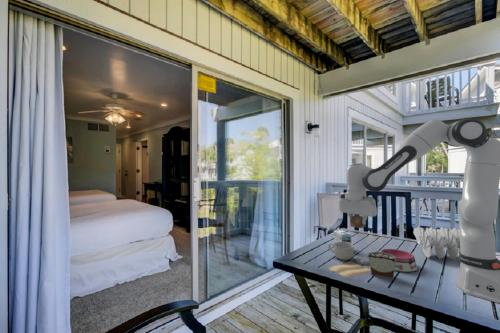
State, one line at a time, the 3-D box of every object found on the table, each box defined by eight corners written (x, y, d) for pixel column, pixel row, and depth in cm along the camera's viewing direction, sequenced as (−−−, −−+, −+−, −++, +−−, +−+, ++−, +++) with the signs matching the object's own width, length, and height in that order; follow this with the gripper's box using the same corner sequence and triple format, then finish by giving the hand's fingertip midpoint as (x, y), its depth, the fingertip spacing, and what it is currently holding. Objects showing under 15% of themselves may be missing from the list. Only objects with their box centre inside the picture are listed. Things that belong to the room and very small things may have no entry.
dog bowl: (390, 257, 143) (389, 245, 143) (425, 268, 126) (425, 255, 126) (369, 263, 134) (369, 250, 134) (404, 276, 118) (404, 261, 118)
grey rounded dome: (376, 262, 134) (376, 260, 134) (368, 266, 129) (368, 264, 129) (361, 258, 141) (361, 256, 142) (352, 261, 136) (352, 259, 136)
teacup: (356, 258, 142) (356, 244, 142) (349, 263, 134) (349, 248, 134) (333, 252, 151) (333, 239, 151) (325, 257, 143) (325, 243, 143)
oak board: (373, 272, 124) (373, 270, 124) (347, 279, 116) (347, 278, 116) (350, 263, 136) (350, 261, 136) (326, 269, 128) (326, 267, 128)
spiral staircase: (473, 270, 133) (421, 264, 138) (456, 246, 148) (410, 242, 154) (484, 243, 125) (428, 238, 131) (465, 222, 140) (416, 218, 146)
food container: (397, 275, 118) (397, 254, 119) (397, 279, 113) (396, 258, 113) (369, 269, 125) (369, 250, 125) (367, 274, 120) (367, 253, 120)
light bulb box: (352, 251, 153) (351, 234, 153) (342, 252, 152) (341, 234, 152) (343, 246, 164) (342, 229, 164) (333, 246, 163) (333, 230, 163)
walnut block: (365, 226, 123) (365, 216, 123) (358, 228, 121) (358, 217, 121) (357, 225, 128) (356, 215, 128) (350, 226, 125) (349, 216, 125)
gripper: (379, 196, 117) (380, 225, 116) (345, 194, 135) (346, 219, 135) (370, 197, 114) (371, 227, 114) (336, 195, 132) (338, 220, 132)
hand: (357, 223), depth 124 cm, fingers closed on walnut block, 5 cm apart
